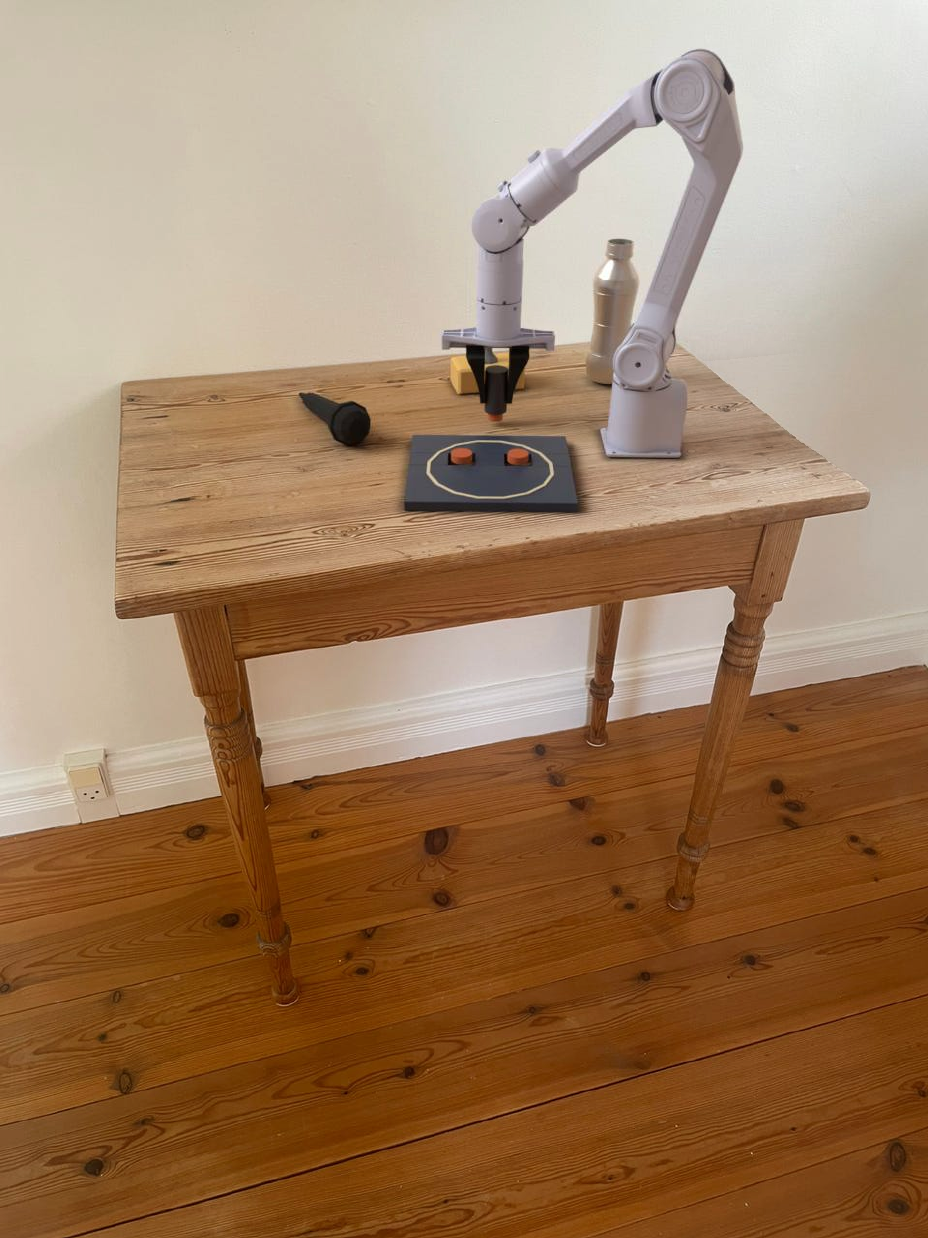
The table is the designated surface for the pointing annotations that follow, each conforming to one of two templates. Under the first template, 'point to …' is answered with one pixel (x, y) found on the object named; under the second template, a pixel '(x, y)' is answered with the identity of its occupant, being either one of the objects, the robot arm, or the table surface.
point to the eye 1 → (461, 456)
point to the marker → (496, 392)
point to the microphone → (340, 417)
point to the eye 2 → (518, 456)
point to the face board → (490, 475)
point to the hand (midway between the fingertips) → (496, 400)
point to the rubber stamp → (465, 377)
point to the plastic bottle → (611, 308)
